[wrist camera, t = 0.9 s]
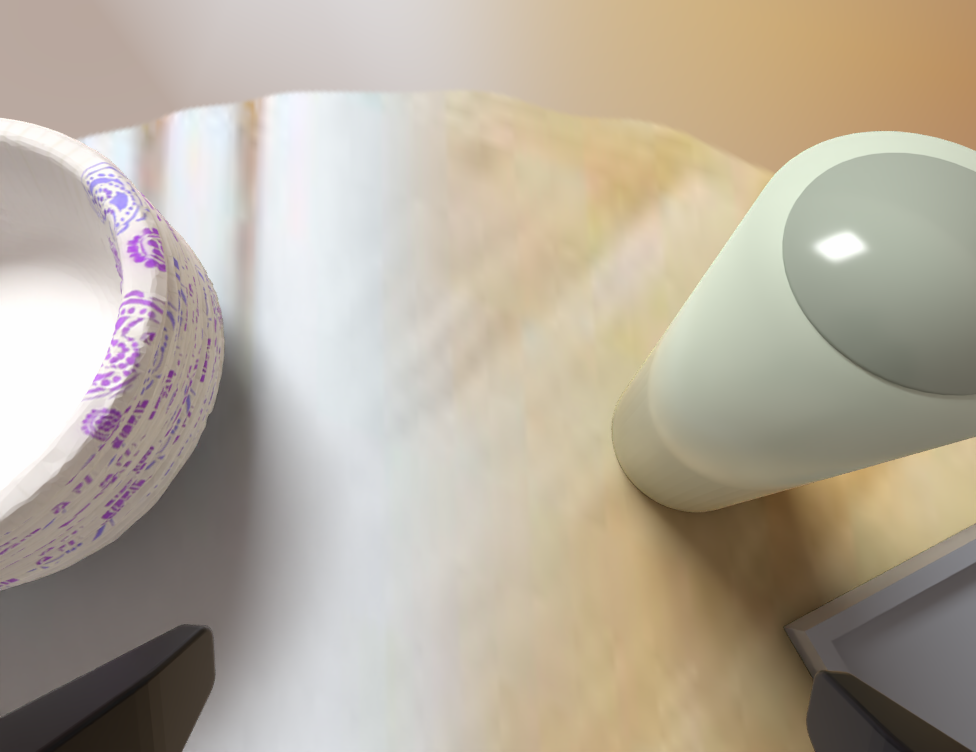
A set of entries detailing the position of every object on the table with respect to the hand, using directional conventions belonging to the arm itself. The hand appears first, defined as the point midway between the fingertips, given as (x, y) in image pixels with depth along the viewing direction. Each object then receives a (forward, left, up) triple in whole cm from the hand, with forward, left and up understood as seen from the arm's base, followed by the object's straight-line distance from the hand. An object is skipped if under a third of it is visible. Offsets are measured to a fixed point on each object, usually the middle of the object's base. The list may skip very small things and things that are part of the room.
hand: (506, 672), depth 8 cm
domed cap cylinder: (+3, -9, -13) cm, 16 cm away
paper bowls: (+15, +13, -13) cm, 23 cm away
